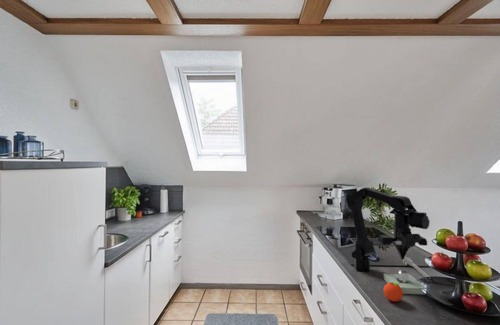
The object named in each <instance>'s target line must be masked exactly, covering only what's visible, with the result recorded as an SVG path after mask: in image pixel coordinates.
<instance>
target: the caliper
mask: <svg viewBox="0 0 500 325" xmlns="http://www.w3.org/2000/svg"><path fill="white" fill-rule="evenodd" d="M408 255H409V254H407V253H406V255H405V258H404V259H402V263H403V265H405V266H408V265H409V266H410V267H413V268H414V269H415V270H416V271H417V272H418V273H419V274H421V275H422V277H424V278H425V277H429V278H430V275H428V274H427V273H426V272H425V271H424V270H423V269H421V267H419V266H418V265H417V264H416V263H414V261H413V260H412V259H411V258H410V257H408Z"/></svg>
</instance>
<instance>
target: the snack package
mask: <svg viewBox="0 0 500 325" xmlns="http://www.w3.org/2000/svg"><path fill="white" fill-rule="evenodd" d="M378 257H379V252H378V250H377V249H376V248H374V249H373V253H372V254H371V256H370V257H368V260H369V261H371V262H377V261H378Z"/></svg>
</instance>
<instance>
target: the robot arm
mask: <svg viewBox="0 0 500 325" xmlns="http://www.w3.org/2000/svg"><path fill="white" fill-rule="evenodd" d="M367 198H371V199H374V200H376V201H378V202H379V201H380V202H382V203H385V204H387V205H388V206H389V207H390V208H392V210H390V211H389V214H391V215H392V214H393V215H394V225H393V228H394V233H393V237H391V236H389V235H387V234H380V235H378V240H377V241H378V242H379V243H381V244H382V245H391V244H392V245H394V246H395V249H396V251H397V252H398V255H399V257H400V259H401V260H403V259H404V258H405V255H406V254H407V253H408V250H409V249H410V248H413V247H415V246H416V244H418V245H419V246H428V240H427V239H426V237H423V236H421V235H420V234H419V233H412V228H416V229H417V228H418V229H422V230H428V228H429V227H430V219H429V217H428V215H427V212H419V211H417V209H416V208H415V206H414V205H413V203H412V201H411V199H410V198H409V197H407V196H403V195H395V194H394V195H393V194H392V195H391V194H389V193H386V192H382V191H380V190H376V189H373V188H371V187H362V188H361V189H359V190H357V191H354V192H353V193H349V194H347V196H346V197H345V201H346V203H347V207H348V208H349V209H350V211H351V214H352V220H353V223H354V230H355V233H356V234H355V235H356V241H355V244H354V245H355V250H354V251H352V252H351V257H352V258H353V259H354V260H353V261H354V265H353V268H354V269H355V270H356V272H371V270H370V266H371V265H370V261H371V260H368V257H369V258H371V257H372V256H371V254H372V253H373V249H375V247H374V243H373V240H370V239H369V238H368V235H367V230H366V225H365V219H364V215H363V205H364V200H366V199H367ZM410 227H412V228H410Z"/></svg>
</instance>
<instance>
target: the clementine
mask: <svg viewBox="0 0 500 325" xmlns="http://www.w3.org/2000/svg"><path fill="white" fill-rule="evenodd" d="M399 285H400V284H398V283H392V282H390V283H387V282H386V284H385V285H384V286H383V294H384V296H385V297H386V298H387V299H388V300H389V301H390V302H391V301H392V302H394V303H395V302H399V301H401V300H402V299H403V296H404V294H403V291H402V289H401V287H400V286H399ZM401 286H402V285H401ZM402 287H403V286H402Z"/></svg>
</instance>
